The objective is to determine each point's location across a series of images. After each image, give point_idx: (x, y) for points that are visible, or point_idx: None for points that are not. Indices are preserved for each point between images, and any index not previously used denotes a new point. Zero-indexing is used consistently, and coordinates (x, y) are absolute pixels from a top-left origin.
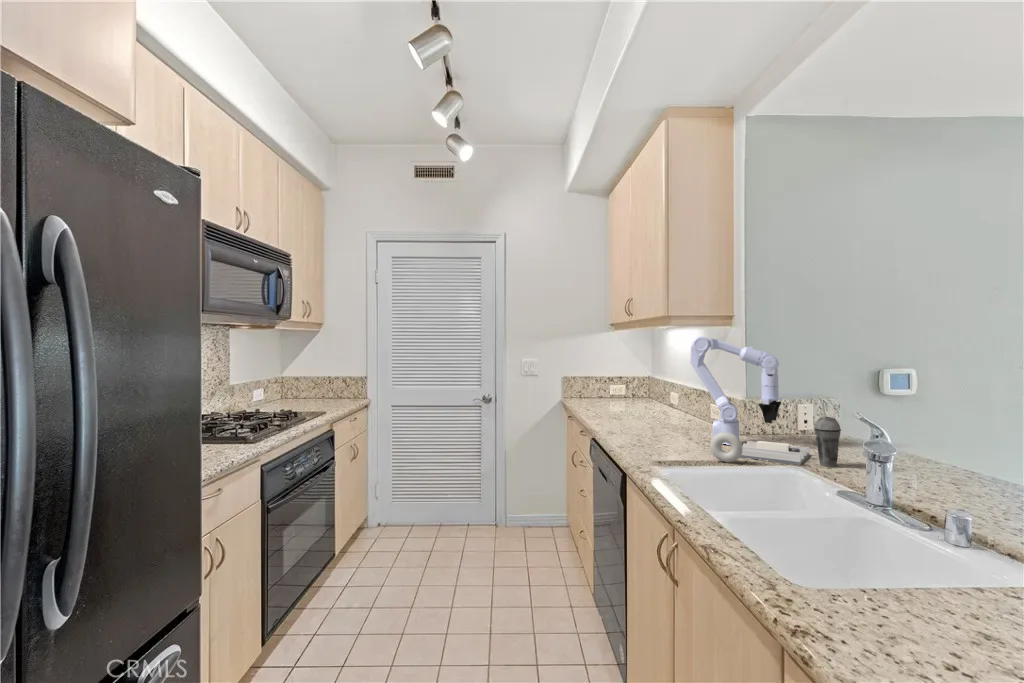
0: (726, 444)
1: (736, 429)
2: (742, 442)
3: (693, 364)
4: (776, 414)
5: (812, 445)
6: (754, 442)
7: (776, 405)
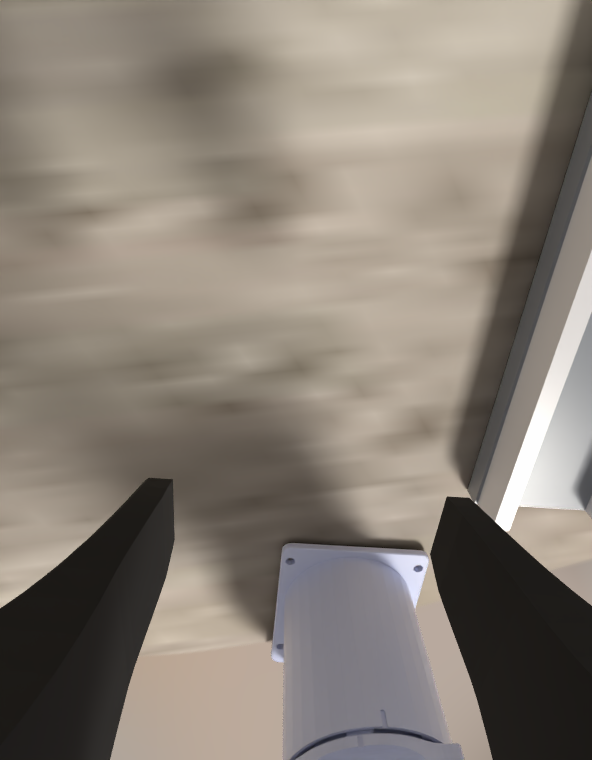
0: (415, 602)
1: (409, 665)
2: (298, 545)
3: None
4: (140, 538)
5: (17, 5)
6: (523, 484)
7: (55, 729)
